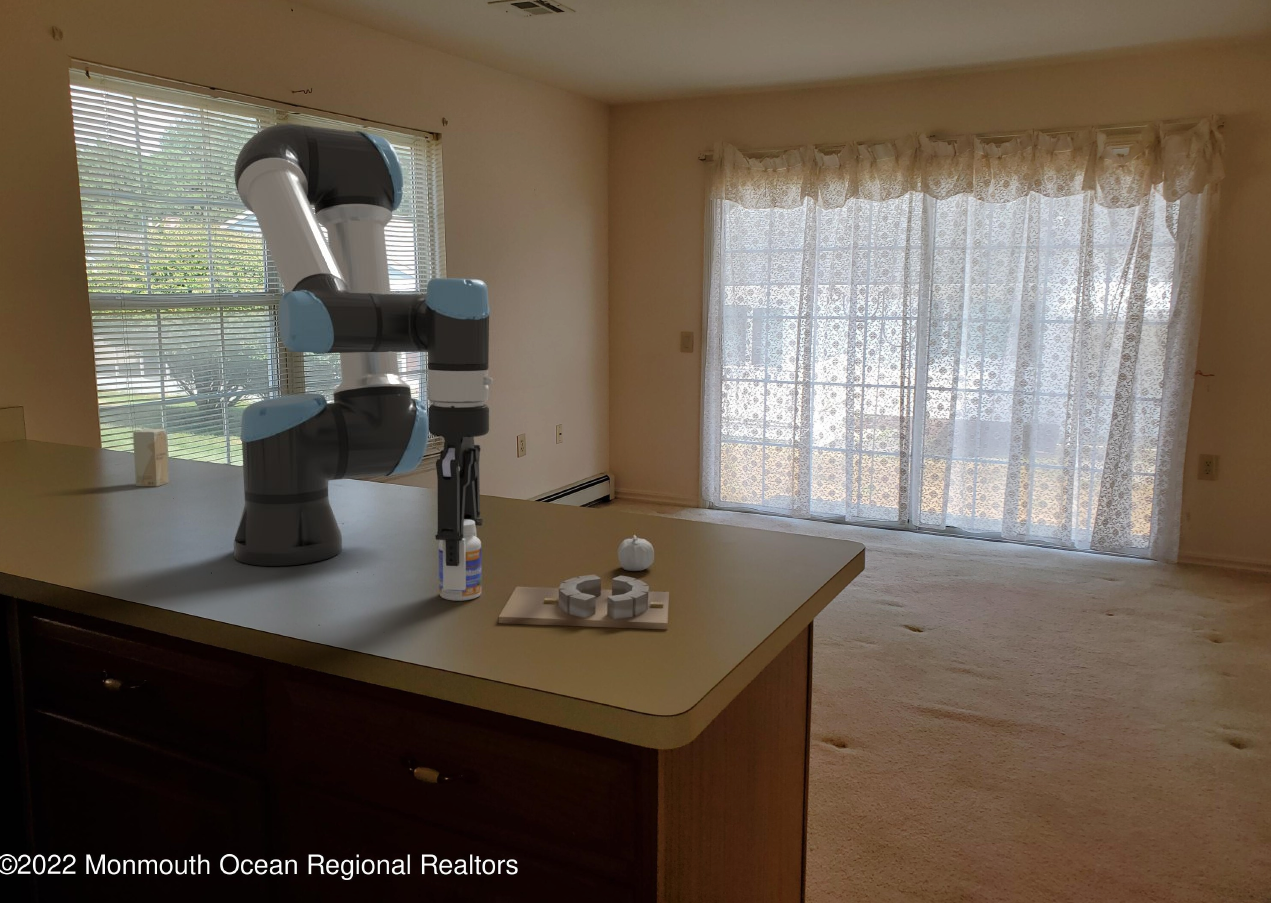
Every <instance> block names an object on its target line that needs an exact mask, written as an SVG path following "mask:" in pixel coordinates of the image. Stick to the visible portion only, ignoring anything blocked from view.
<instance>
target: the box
mask: <svg viewBox="0 0 1271 903" xmlns="http://www.w3.org/2000/svg"><path fill="white" fill-rule="evenodd" d="M132 437H133V438H132V439H133V455H134V474H135V486H136V487H160V486H162V485H166V484H168V483H169V481H170V480H169V478H170V477H169V460H168V458H169V457H168V443H167V442H168V440H167V438H168V437H167V429H164V428H163V429H161V428H145V429H140V430H136V431H133V432H132Z"/></svg>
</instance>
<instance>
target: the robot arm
mask: <svg viewBox="0 0 1271 903" xmlns="http://www.w3.org/2000/svg"><path fill="white" fill-rule="evenodd" d="M233 177H234V178H233V179H234V184H235V188H236V191H237V193H238V195H239V198H240V200H241V202H242V204H243V205H244V206H245V207H246V209H248V210H249V211H250V212H251V213H253V214H254V216H255V219H256V222H257V223H258V226H259V228H260V232H261V233H262V236H263V239H264V241H265V244H266V246H267V248H268V252H269V253H270V256H271V259H272V262H273V264H274V265H275V266H274V267H275V268H276V271H277V273H278V276H279V279H280V282H281V283H282V286H283V289H284V292H285V293H283V294H282V295H281V297H280V299H279V301H278V302H279V303H278V308H277V324H278V325H277V326H278V330H279V336H280V339H281V342H282V344H283V346H284V347H285V348H286V349H287V350H288V351H290V352H294V353H313V354H315V355H324V354H339V360H340V369H341V380H342V381H341V382H340V384H339V385H338V386H337V387H336V389H335V390H334V391H333V394H332V396H333V402H332V403H331V402H330V403H328V401H327V399H326V397H325V396H324V395H323V394H319V393H304V394H291V395H289V394H288V395H282V396H278V397H272V398H266V399H262V400H259V401H255V402H253V403H251V404H249V405H247V406H246V407H245V408H244V410H243V412H242V414H241V426H240V428H241V429H240V437H239V438H240V441H241V449H242V450H241V451H242V452H241V453H242V454H241V455H242V469H243V470H242V472H243V475H242V476H243V490H244V493H243V494H244V506H243V510H242V513H241V517H240V520H239V523H238V527H237V530H236V534H235V536H234V540H233V555H234V556H233V557H234V559H235V560H236V561H237V562H241V563H244V564H247V565H254V566H266V567H267V566H268V567H279V566H283V567H284V566H295V565H296V566H297V565H302V564H303V565H305V564H310V563H315V562H320V561H324V560H327V559H331V558H333V557H335V556H337V555H339V554H340V553H341V552H342V551H343V538H342V537H343V536H342V533H341V530H340V528H339V524H338V522H337V519H336V517H335V514H334V511H333V509H332V506H331V503H330V499H329V482H330V481H335V480H347V479H348V480H349V479H350V480H351V479H359V478H360V479H361V478H372V477H382V476H383V477H389V476H390V477H391V476H393V475H400V474H407V473H411V472H412V471H414V470H415V469H416V468H418V466H419V465H420V464H421V462H422V460H423V458H424V456H425V452H426V450H427V445H428V440H429V439H428V438H429V433H430V434H431V435H432V436H435V437H442V438H443V440H444V442H443V449H441V450H440V452H439V453H440V454H439V458H437V459H436V462H435V466H436V468H435V469H436V476H437V477H436V479H437V533H436V534H435V540H436V541H440V540H443V590H465V589H466V538H463V526H464V519H469V520H473V521H475V528H476V529H477V527H476V526H479V527H480V526H481V527H482V526H483V521H484V520H483V518H480V517H481V504H480V503H481V500H480V498H481V494H480V493H481V492H480V490H481V489H480V456H481V454H480V453H481V450H482V449H481V446H480V444H475V439H474V438H478V437H482V436H485V435H487V434H489V432H490V407H488V404H484V403H485V402H487V401H488V399H490V398H489V397H490V396H489V394H490V392H489V390H490V389H489V387H490V386H492V385H493V384H494V379H493V377H490V376H489V366H490V365H489V355H490V354H489V353H490V351H489V350H490V313H491V309H490V306H489V304H490V303H489V293H488V291H489V290H488V286H487V284H486V283H485V281H483V280H482V279H477V278H476V279H475V278H451V277H448V278H447V277H441V278H440V277H437V278H431V279H430V280H429V281H428V283H427V285H426V294H425V293H419V294H418V293H411V294H410V293H409V294H408V293H404V294H403V293H391V284H390V274H389V268H388V267H389V265H388V257H387V256H388V255H387V254H388V253H387V246H386V236H385V235H386V234H385V227H386V226H387V225H388V224H389V223H390V222H391V221H392V219H393V212H395V211H396V210H397V209H398V208H399V207H400V205H401V203H402V200H403V193H404V192H403V190H402V188H403V187H404V179H403V178H404V177H403V170H402V166H401V162H400V158H399V155H398V153H397V151H396V149H395V147H394V146H393V144H392V143H390V142H389V140H388V139H386V138H385V137H383V136H382V135H376V134H373V133H366V132H364V131H361V130H355V131H354V130H353V131H352V130H345V129H344V130H343V129H336V128H329V127H327V128H326V127H319V126H310V125H303V124H298V123H292V122H291V123H290V122H289V123H279V124H278V123H277V124H275V125H271V126H268V127H266V128H263V129H262V130H260V131H259V132H257V133H256V134H254V135H253V136H251V137H250V138H249V140H247V142H246V143H244V145H243V147H242V149H241V150H240V151H239V154H238V156H237V158H236V161H235V165H234V173H233ZM312 206H313V208H314V210H313V208H312ZM321 226H322V227H323V228H324V229H326V231H327V239H326V236H325V234H324V232H323V229H322V228H321ZM397 353H427V399H428V400H429V401H430V402H432V404H430V405H429V407H428V409H427V410H426V407H425V404H424V403H423V402H422V401H421V400H419V399H417V398H412V391H411V386H410V385H409V384H408V383H406V382H405V381H404V380H403V379H402V378H401V377H400V372H399V370H400V369H399V362H398V361H399V360H398V354H397ZM427 411H428V412H427ZM474 536H475V537H477V530H476V531H475V533H474Z"/></svg>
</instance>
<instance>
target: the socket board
mask: <svg viewBox="0 0 1271 903" xmlns="http://www.w3.org/2000/svg"><path fill="white" fill-rule="evenodd" d="M669 600H670V591H650V586H649V584H648V583H646V582H644V581H643V580H641V579H637V578H635V577H630V576H625V575H619V576H616V577H614V578H612V579H611V589H602V578H601V577H599V576H597V575H596V574H587V575H579V576H577V577H572V578H569V579H566V580H564V581H562V582H561V583H560V585H559V587H545V586H544V587H539V586H534V587H533V586H516V587H515V589H514V590H513V592H512V594H511V595H510V597H509V599H508V600H507V602H506V603H505V606H504V607H503V609H502V610H501V612H500V614H499V616H498V624H507V625H508V624H509V625H510V624H511V625H516V624H518V625H540V626H565V627H567V626H568V627H592V628H594V627H595V628H616V629H618V628H619V629H621V628H622V629H642V630H645V629H646V630H647V629H648V630H649V629H651V630H668V623H669V622H668V621H669V603H670V601H669Z"/></svg>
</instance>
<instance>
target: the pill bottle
mask: <svg viewBox="0 0 1271 903" xmlns="http://www.w3.org/2000/svg"><path fill="white" fill-rule="evenodd" d="M475 527H476V526H475V521H473V520H469V519H464V526H463V538H466V589H465V590H443V540H439V542H438V588H439V596H440V597H441V598H442V599H444V600H448V601H454V602H455V601H457V602H463V601H469V600H474V599H476V598H478V597H480V596H481V595H482V541H481V539H479V537H477V536H476V537H475V536H474V533H475V531H476V532H477V527H476V528H475Z"/></svg>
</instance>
